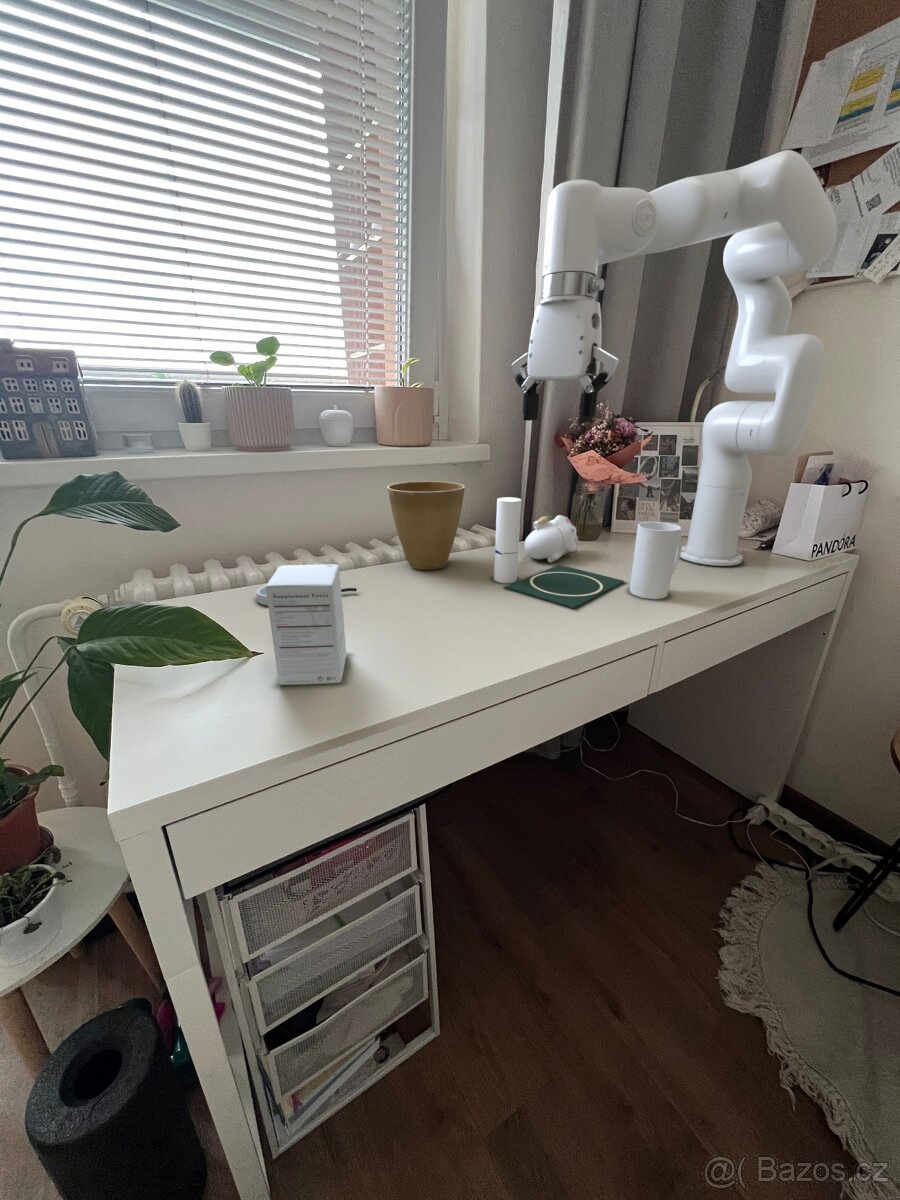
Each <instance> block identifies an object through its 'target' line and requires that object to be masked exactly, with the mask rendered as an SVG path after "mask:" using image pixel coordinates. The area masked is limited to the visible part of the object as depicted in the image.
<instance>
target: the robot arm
mask: <svg viewBox="0 0 900 1200" xmlns="http://www.w3.org/2000/svg"><path fill="white" fill-rule="evenodd" d="M731 235H732V236H731ZM837 235H838V222H837V216H836V213H835V210H834V208H833V205H832V204H831V201H830V200H829V198H828V195H827V194H826V192H825V190H824V187H823V185H822V183H821V181H820V180H819V178H818V176H817V173H816V172H815V170H814V169H813V168H812V166H811V164H810V163H809V162H808V160H807V159H805V158H804V156H803V155H802V154H800V153H798V152H797V151H794V150H791V149H785V150H782V151H779V152H777V153H774V154H771V155H769V156H766V157H763V158H761V159H757V160H756V161H753V162H751V163H748V164H745V165H742V166H740V167H737V168H732V169H726V170H722V171H717V172H711V173H704V174H699V175H694V176H687V177H684V178H681V179H677V180H675V181H672V182H669V183H667V184H664V185H662V186H660V187H657V188H654V189H653V190H651V191H649V192H648V191H647V190H645V189H642V188H638V187H613V186H612V187H611V186H610V187H609V186H602V185H600V184H599V183H598V182H596V181H593V180H590V179H572V180H567V181H564V182H561V183H559V184H557V185H556V186H555V187H554V188H553V189H552V190H551V192H549V196H548V199H547V205H546V217H545V231H544V245H543V258H542V259H543V262H542V274H541V275H542V277H541V289H540V302H539V304H538V305H536V309H535V311H534V314H533V315H534V316H533V320H532V325H531V330H530V337H529V343H528V344H529V345H528V351H527V352H526V353H524V354H523V355H522V356H520V357H519V358H517V359H516V360H515V361H513V362H512V364H511V369H512V373H513V376H514V377H515V379H514V380H515V383H516V384H517V386H518V387H519V389H520V393H522V394H523V401H522V414H523V417H522V419H523V421H527V422H528V421H537V420H538V419H539V418H538V417H539V403H540V394H539V393H537V391H538V389H539V388H540V387H541V386H542V384H543V383H544V382H545V381H552V382H554V381H556V382H557V381H562V382H563V381H579V383H580V385H581V386H582V388H583V390H584V392H582V393H581V395H580V401H579V409H578V411H579V412H578V418H577V419H578V420H577V421H578V422H579V424H580V423H582V424H587V423H588V424H589V423H592V422H593V420H594V417H595V415H596V411H597V410H596V409H597V401H598V394H600V393H601V392H602V391H603V388H604V387H605V386H606V385H607V384H608V383H609V382H610V381H611V380H612V375H614V373H615V371H616V369H617V368H618V365H619V363H620V360H619V358H617V357H616V356H614V355H613V354H611V353H609V352H608V351H606V350H605V349H602V313H601V303H600V301H596V300H595V299H596V297H597V293H598V292H599V291H603V290H604V289H605V280H604V278H600V279H599V277H598V269H599V268H598V266H600V265H605V264H607V263H612V262H613V263H614V262H616V261H620V260H624V259H628V258H633V257H637V256H642V255H643V256H644V255H648V254H649V255H650V254H655V253H656V254H657V253H662V252H668V251H670V250H675V249H678V248H679V249H680V248H683V247H686V246H687V247H688V246H691V245H695V244H698V243H702V242H707V241H711V240H716V239H719V238H723V237H727V236H730V238H729V239H728V240H727V242H726V244H725V247H724V249H723V254H722V255H723V256H722V257H723V258H722V260H723V261H722V264H723V268H724V272H725V274H726V277H727V278H728V279H729V282H730V284H731V286H732V288H733V291H734V293H735V296H736V300H737V306H738V314H737V319H736V326H735V330H734V332H733V337H732V342H731V346H730V349H729V353H728V358H727V362H726V366H725V372H724V384H725V386H726V388H727V389H728V390H729V391H731V392H734V393H738V394H775V398H774V400H730V401H725V402H722V403H718V404H717V405H715V406H714V407H713V408H712V409H710V410H709V411H708V413H707V414H706V416H705V417H704V421H703V425H702V433H701V434H702V457H701V464H700V471H699V477H698V482H697V486H696V492H695V493H696V494H695V498H694V504H693V509H692V515H691V518H690V519H691V520H690V525H689V531H688V536H687V541H686V545H684V546H683V545H682V550H681V555H680V558H681V559H682V560H684V561H688V562H691V563H695V564H699V565H706V566H714V567H733V566H737V565H740V564H741V563H742V562H743V556H742V554H741V553H739V552H737V547H738V542H739V538H740V535H741V534H740V533H741V530H742V525H743V520H744V517H745V511H746V508H747V507H746V506H747V503H748V498H749V494H750V489H751V485H752V479H753V471H752V466H751V463H750V461H749V458H748V455H757V456H770V457H781V456H782V457H783V456H785V455H788V454H790V453H792V452H793V451H794V450H795V449H796V448H797V447H798V446H799V444H800V443H801V441H802V439H803V436H804V435H805V432H806V429H807V426H808V423H809V421H810V420H809V419H810V417H811V413H812V409H813V407H814V404H815V400H816V396H817V393H818V390H819V387H820V384H821V383H820V382H821V380H822V376H823V373H824V369H825V364H826V350H825V345H824V342H823V340H822V339H820V338H819V337H818V336H817V335H816V334H815V335H814V334H811V333H796V334H787V333H788V328H789V324H790V320H791V316H792V311H793V300H792V298H791V295H790V292H789V290H788V289H787V286H786V285H785V284H784V282H783V280H782V279H781V278H780V276H786V275H791V274H795V273H802V272H805V271H809V270H811V269H814V268H816V267H818V266H820V265H821V264H822V263H823V262H825V260H827V258H828V257H829V256H830V255H831V253H832V251H833V249H834V247H835V244H836V241H837V237H838V236H837ZM601 364H603V367H602V370H601V372H600V367H601ZM526 367H527V375H528V376H527V375H526V372H525V368H526Z"/></svg>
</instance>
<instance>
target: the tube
mask: <svg viewBox="0 0 900 1200" xmlns="http://www.w3.org/2000/svg"><path fill="white" fill-rule="evenodd" d="M521 514H522V499H521V498H519V497H514V496H513V497H510V496H509V497H507V496H506V497H504V496H503V497H498V498H497V499H496V516H495V517H496V519H495V543H494V567H493V580H494V581H495V582H497V583H500V584H512V583H515V582H517V581H518V567H519V566H518V563H519V547H520V533H521V532H520V531H521V530H520V529H521V516H522V515H521Z"/></svg>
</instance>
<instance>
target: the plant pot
mask: <svg viewBox="0 0 900 1200" xmlns="http://www.w3.org/2000/svg"><path fill="white" fill-rule="evenodd" d="M465 488H466V486H465V485H464V484H461V483H457V482H451V481H436V480H435V481H434V480H433V481H431V480H430V481H429V480H424V481H423V480H422V481H421V480H420V481H404V482H397V483H392V484H389V485H388V486H387V492H388V499H389V503H390V508H391V513H392V518H393V521H394V525H395V529H396V532H397V536H398V538H399V542H400V545H401V548H402V551H403V552H404V555H405V558H406V560H407V564H408V565H409V567H411V568H412V569H414V570H415V569H416V570H421V571H433V570H440V569H442V568H444V567H446V564H447V562H448V559H449V557H450V555H451V551H452V548H453V545H454V543H455V539H456V535H457V531H458V527H459V523H460V519H461V514H462V509H463V504H464V503H463V502H464V495H465Z"/></svg>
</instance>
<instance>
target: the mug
mask: <svg viewBox="0 0 900 1200" xmlns="http://www.w3.org/2000/svg"><path fill="white" fill-rule="evenodd" d="M682 531H683V530H682V527H681V526H680V525H678V524H674V523H669V522H665V521H664V522H663V521H642V522H639V523H637V530H636V536H635V544H634V552H633V559H632V567H631V575H630V576H631V577H630V585H629V592H630V593H631V594H632V595H633V596H635V597H638V598H643V599H647V600H662V599H665V598H666V597H667V596H668V595H669V589H670V586H671V581H672V577H673V575H674V574H675V571H676V569H677V566H678V563H679V561H680V558H681V557H680V555H681V550H682V547H683V535H682Z"/></svg>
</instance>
